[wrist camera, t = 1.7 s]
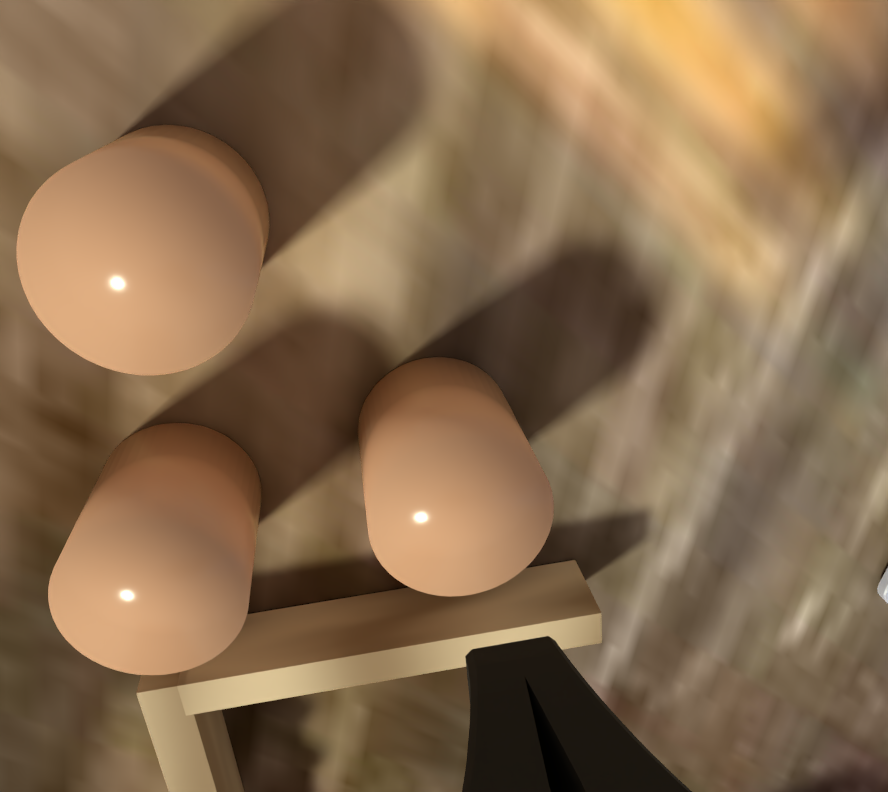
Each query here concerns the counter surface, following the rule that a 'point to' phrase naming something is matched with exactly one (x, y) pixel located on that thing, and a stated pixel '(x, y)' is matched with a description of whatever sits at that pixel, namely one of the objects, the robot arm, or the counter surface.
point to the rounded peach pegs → (215, 455)
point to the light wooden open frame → (349, 657)
